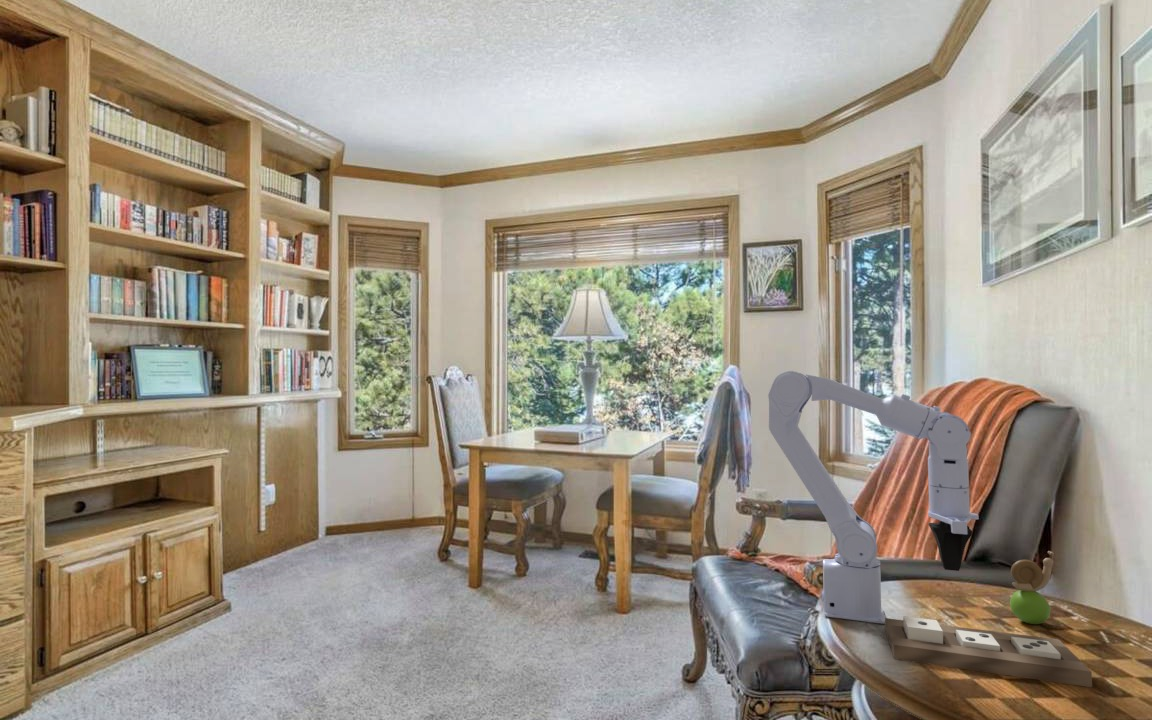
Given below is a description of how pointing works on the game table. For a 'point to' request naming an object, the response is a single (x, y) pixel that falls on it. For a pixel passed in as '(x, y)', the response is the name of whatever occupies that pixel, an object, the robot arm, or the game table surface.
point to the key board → (989, 655)
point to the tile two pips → (977, 640)
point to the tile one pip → (922, 630)
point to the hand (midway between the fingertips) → (951, 569)
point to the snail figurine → (1030, 590)
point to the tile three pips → (1035, 647)
